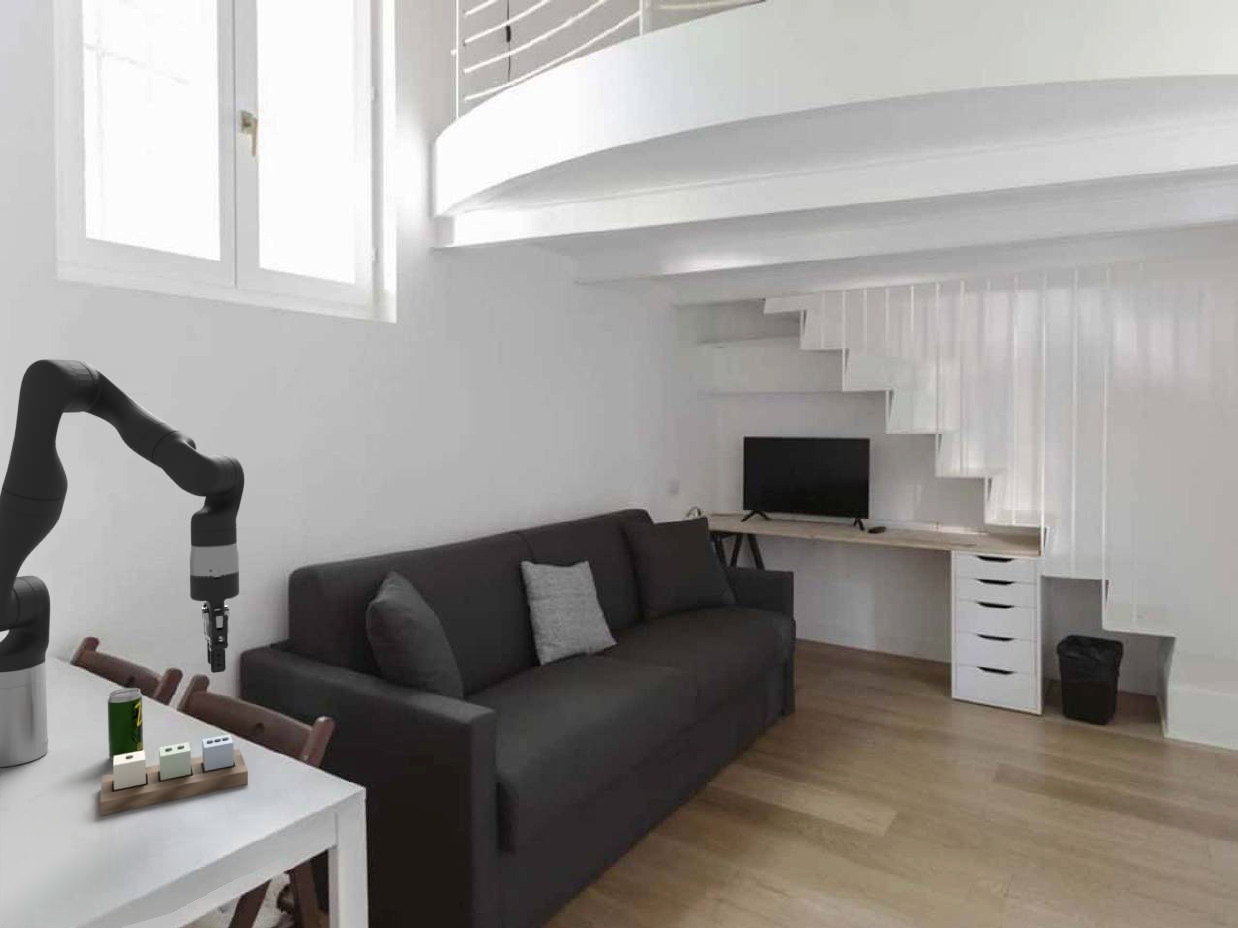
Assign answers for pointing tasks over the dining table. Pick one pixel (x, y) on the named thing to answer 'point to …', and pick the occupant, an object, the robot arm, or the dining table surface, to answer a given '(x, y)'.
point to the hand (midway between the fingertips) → (216, 666)
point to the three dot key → (217, 752)
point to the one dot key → (129, 769)
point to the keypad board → (171, 785)
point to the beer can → (125, 722)
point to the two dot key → (175, 760)
